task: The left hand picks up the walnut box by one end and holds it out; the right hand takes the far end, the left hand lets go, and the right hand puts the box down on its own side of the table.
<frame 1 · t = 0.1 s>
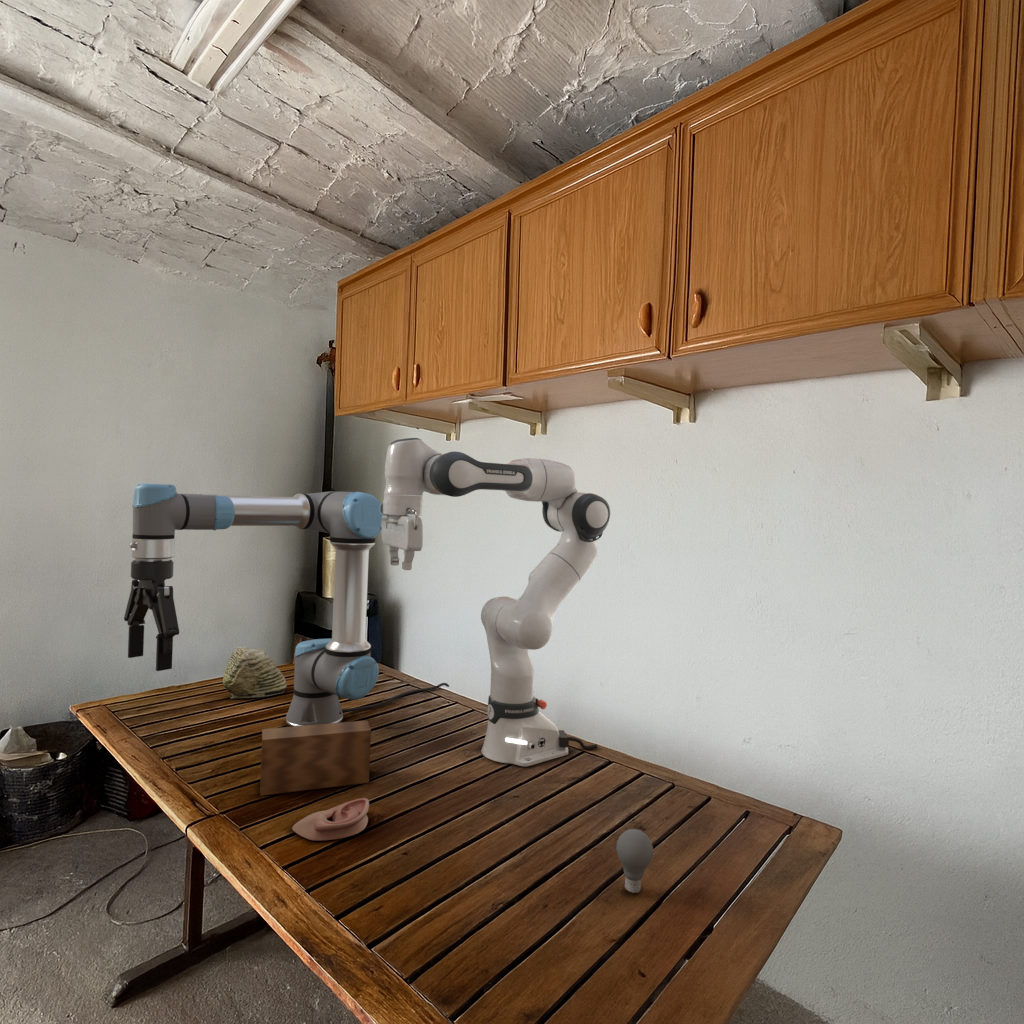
left hand: (149, 663, 129), 28 cm above the table, tool pointing down, fingers open, 13 cm apart
right hand: (400, 567, 147), 48 cm above the table, tool pointing down, fingers open, 8 cm apart
light bulb: (632, 891, 106), on the table
box: (315, 782, 140), on the table
fossil: (254, 694, 198), on the table
anatomical model: (331, 827, 122), on the table
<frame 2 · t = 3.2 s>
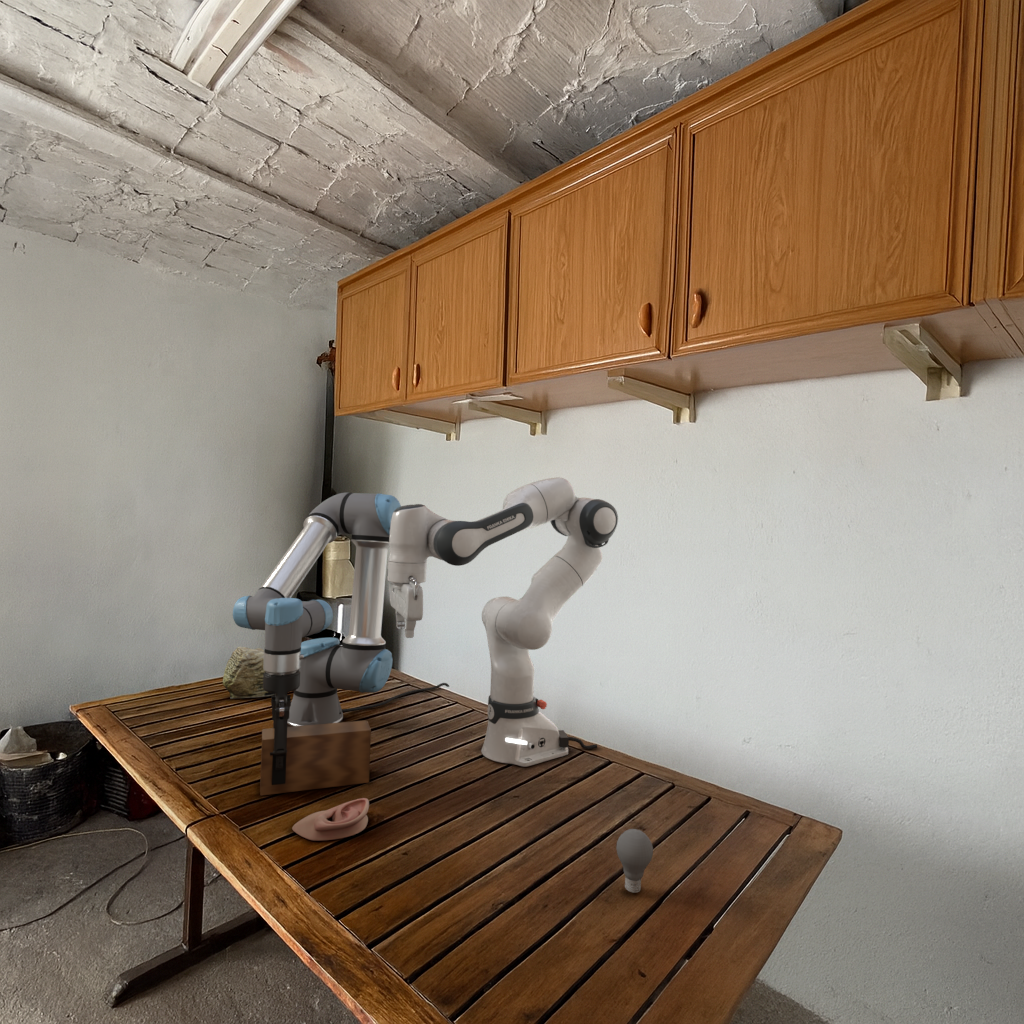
left hand: (278, 776, 137), 2 cm above the table, tool pointing down, fingers closed on box, 6 cm apart
right hand: (404, 632, 148), 32 cm above the table, tool pointing down, fingers open, 8 cm apart
box: (315, 782, 140), on the table, touching left hand
everything else where it was.
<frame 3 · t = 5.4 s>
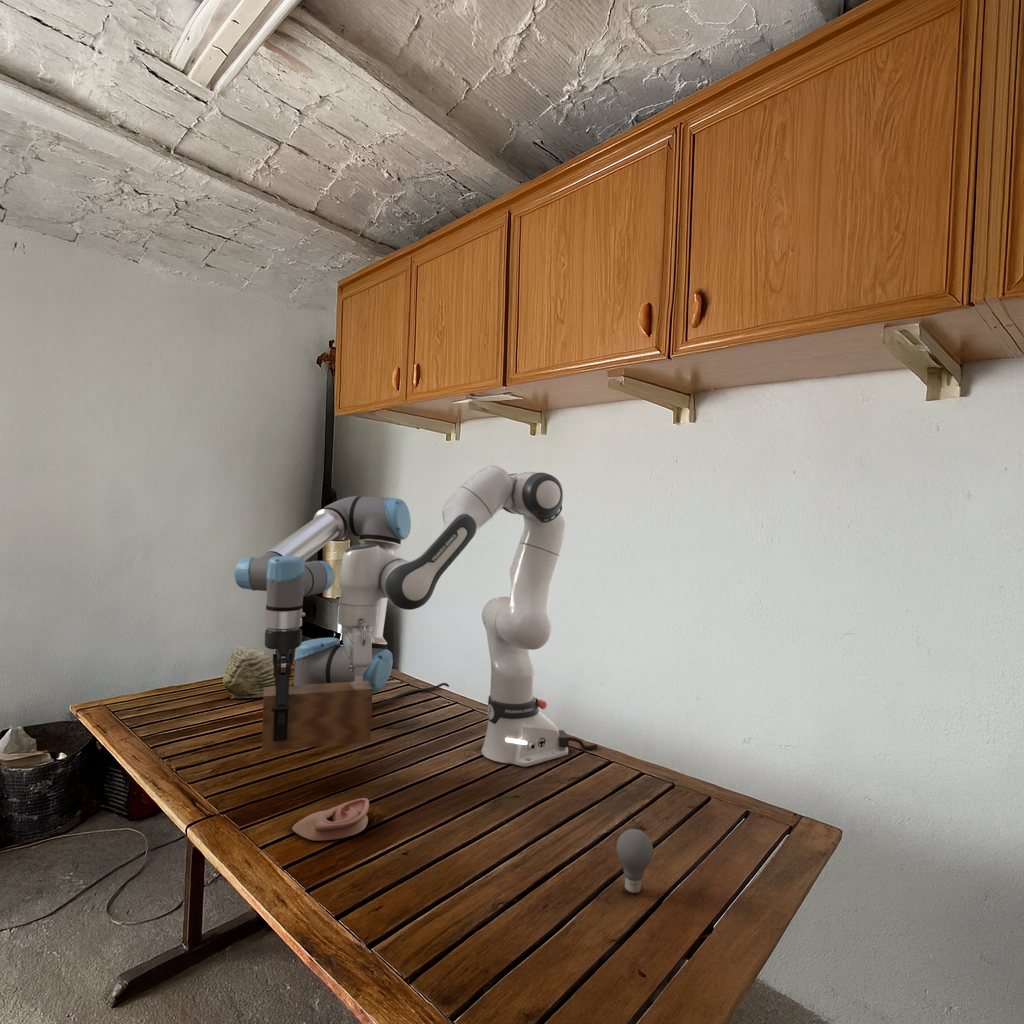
left hand: (279, 733, 137), 12 cm above the table, tool pointing down, fingers closed on box, 6 cm apart
right hand: (355, 676, 143), 23 cm above the table, tool pointing down, fingers open, 8 cm apart
box: (316, 741, 140), point 9 cm above the table, touching left hand
everything else where it was.
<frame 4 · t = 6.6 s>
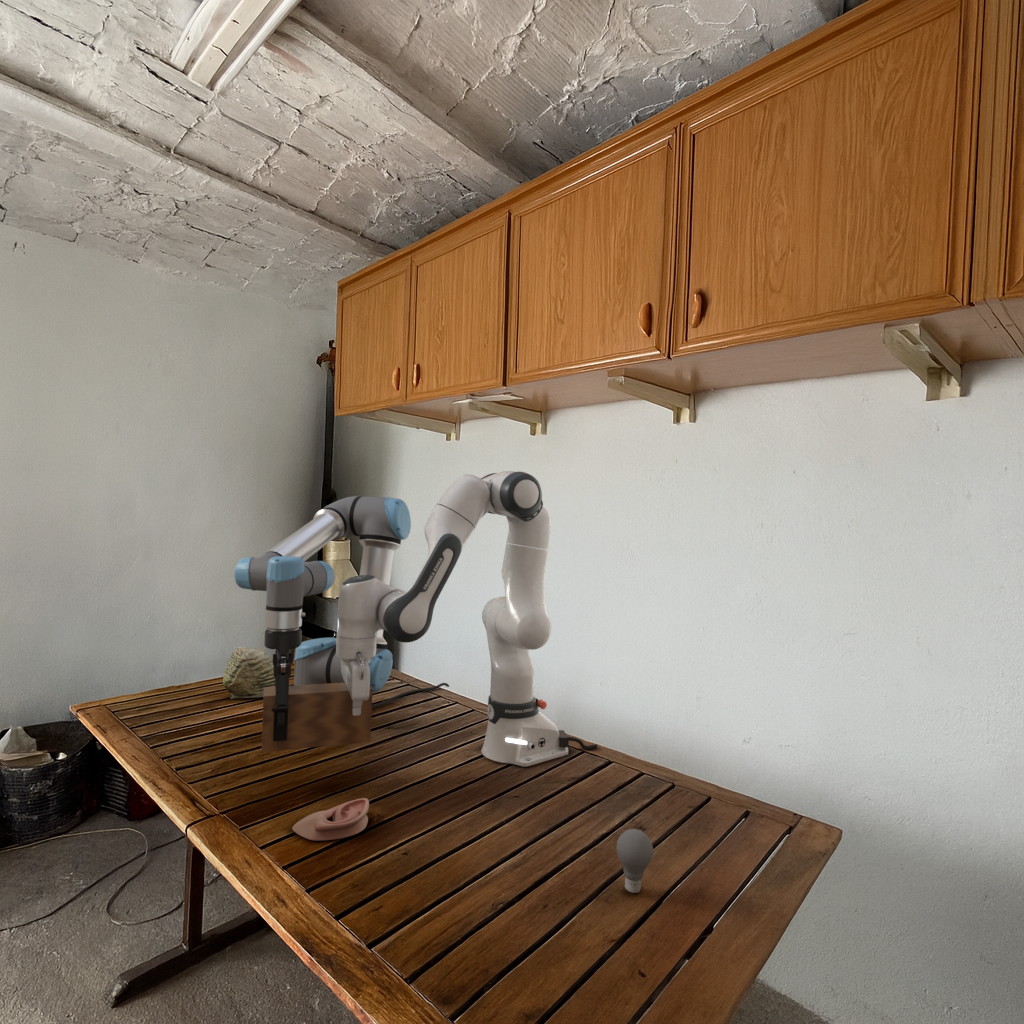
left hand: (279, 733, 137), 12 cm above the table, tool pointing down, fingers closed on box, 6 cm apart
right hand: (353, 708, 143), 16 cm above the table, tool pointing down, fingers closed on box, 6 cm apart
box: (316, 741, 140), point 9 cm above the table, touching left hand, right hand
everything else where it was.
when the left hand's fingers open (12 cm above the table, at t = 7.8 s): box stays where it is, held by the right hand.
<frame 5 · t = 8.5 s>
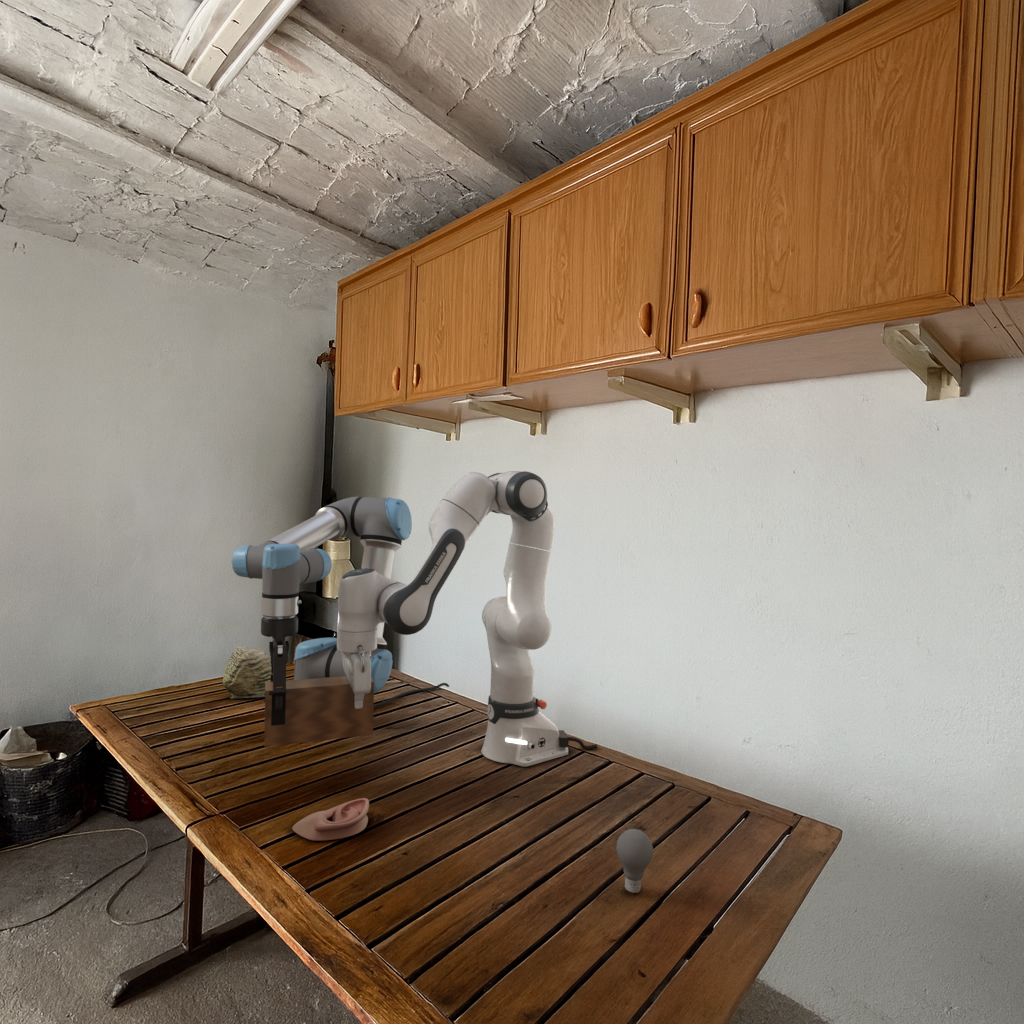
left hand: (277, 713, 137), 16 cm above the table, tool pointing down, fingers open, 13 cm apart
right hand: (355, 701, 143), 17 cm above the table, tool pointing down, fingers closed on box, 6 cm apart
box: (319, 735, 140), point 11 cm above the table, touching right hand
everything else where it was.
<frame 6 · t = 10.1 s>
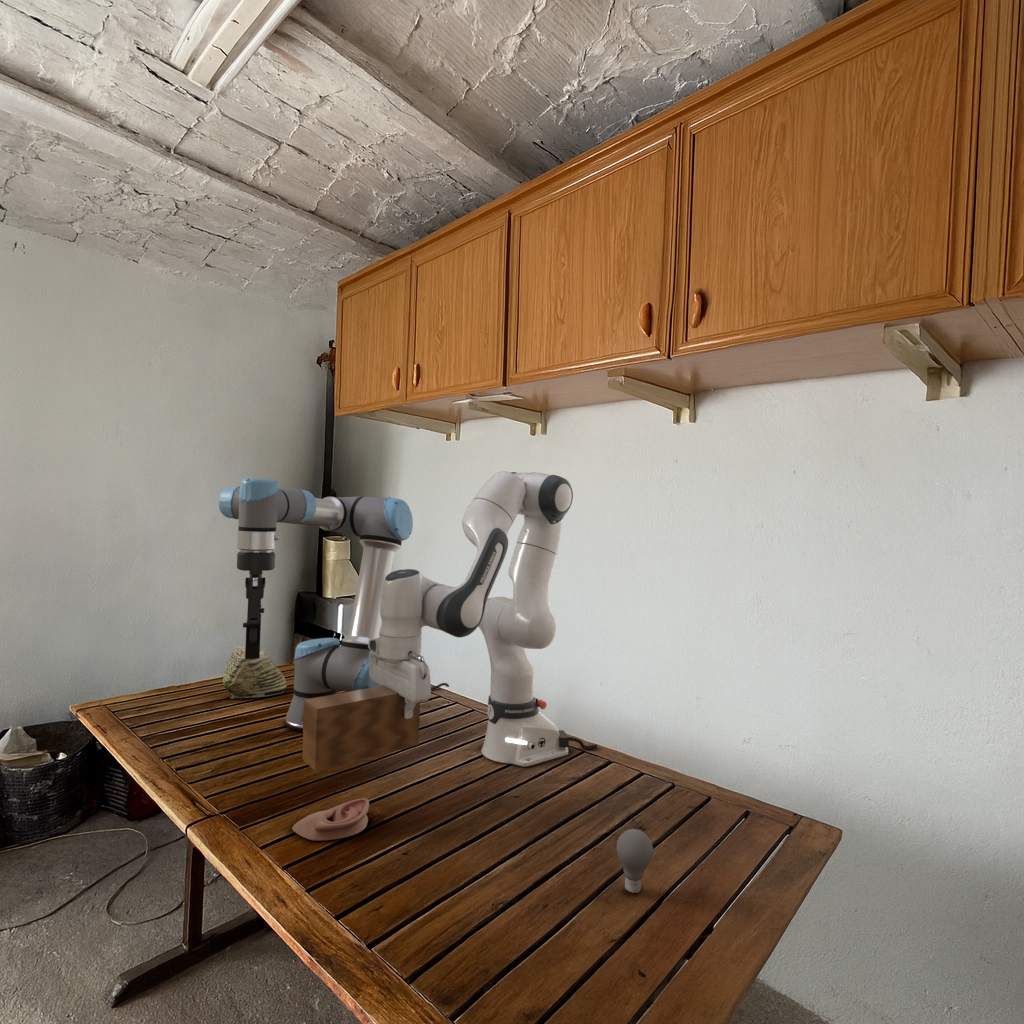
left hand: (252, 650, 135), 30 cm above the table, tool pointing down, fingers open, 13 cm apart
right hand: (397, 712, 134), 19 cm above the table, tool pointing down, fingers closed on box, 6 cm apart
box: (362, 751, 129), point 12 cm above the table, touching right hand
everything else where it was.
when the right hand's fingers open (8 cm above the table, at t = 13.7 s): box stays where it is, on the table.
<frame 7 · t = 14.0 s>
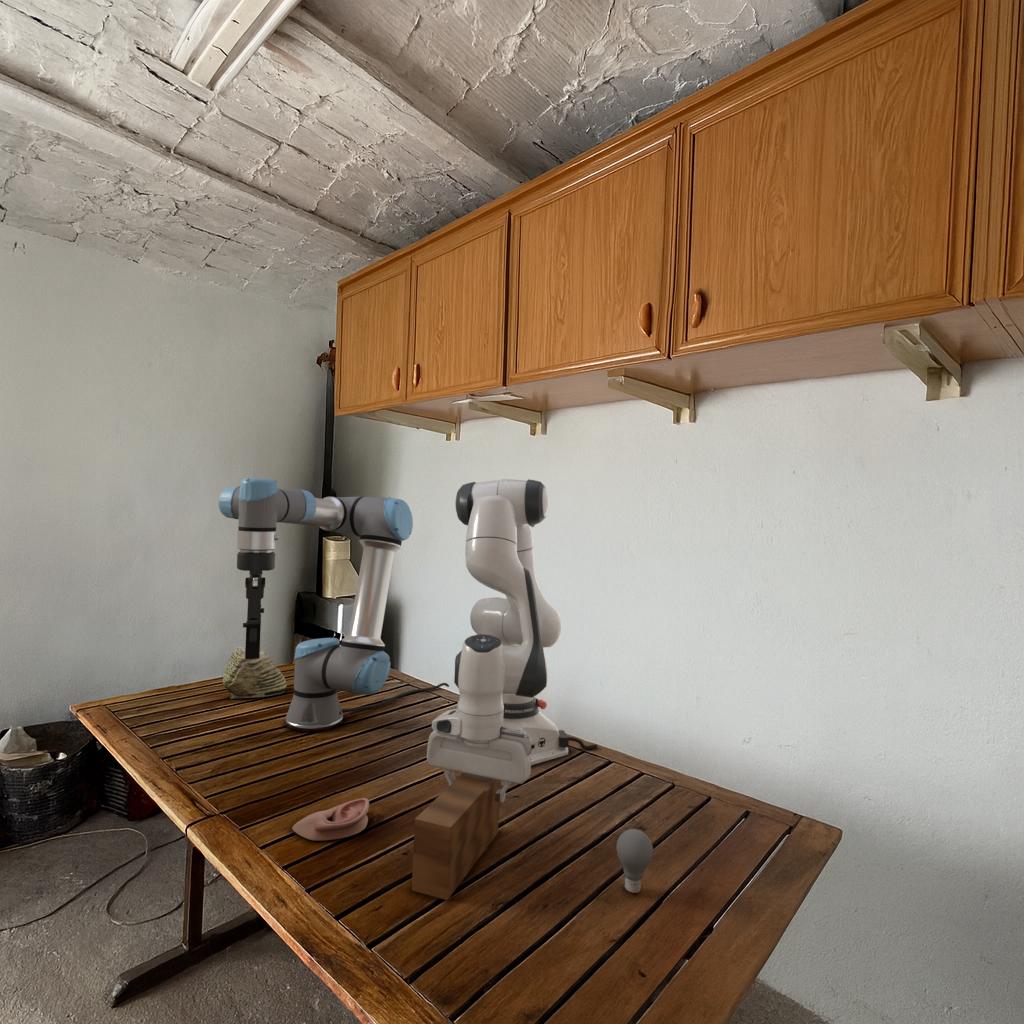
left hand: (252, 650, 135), 30 cm above the table, tool pointing down, fingers open, 13 cm apart
right hand: (476, 796, 120), 8 cm above the table, tool pointing down, fingers open, 8 cm apart
box: (458, 859, 113), on the table
everything else where it was.
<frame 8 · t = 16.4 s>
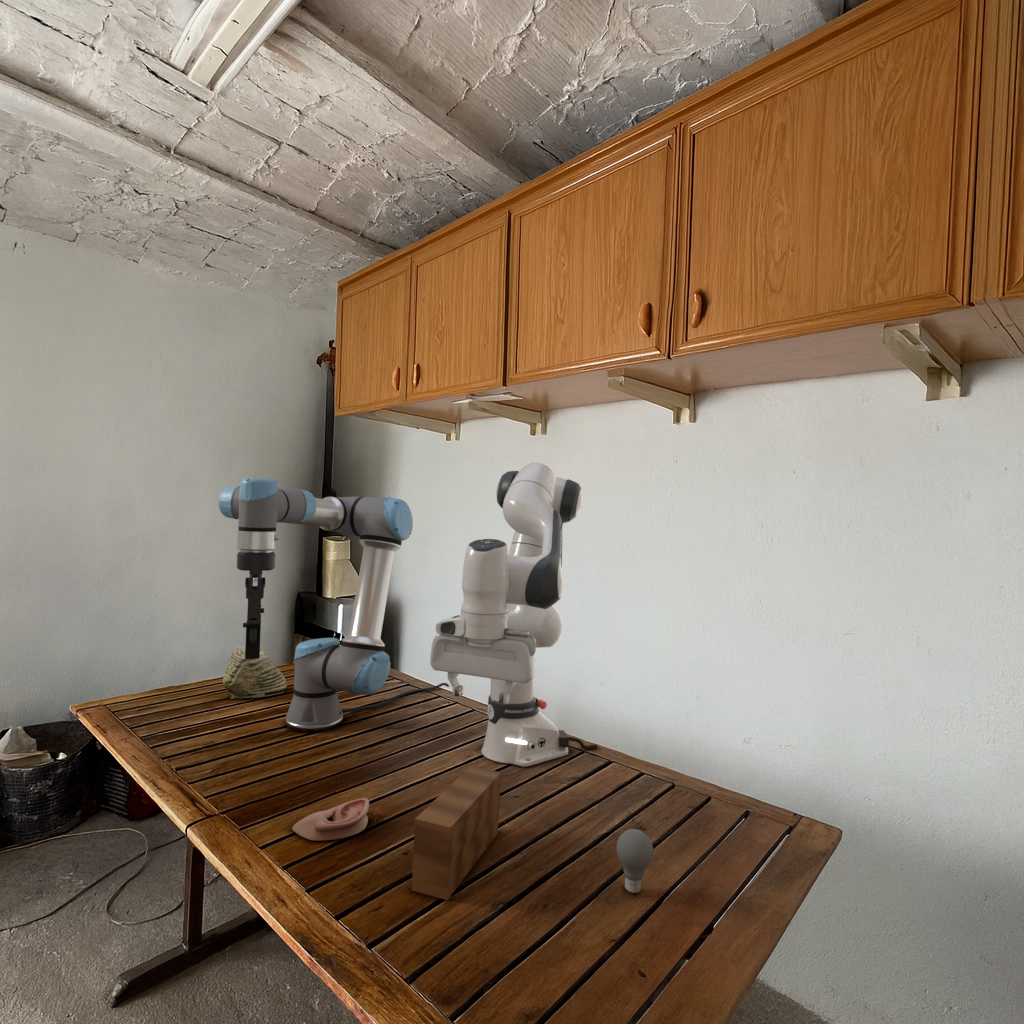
left hand: (252, 650, 135), 30 cm above the table, tool pointing down, fingers open, 13 cm apart
right hand: (480, 699, 119), 27 cm above the table, tool pointing down, fingers open, 8 cm apart
nothing on the table moved.
at the end: box inside the target area (7.2 cm from its centre), on the table; the left hand is holding nothing; the right hand is holding nothing; box at rest at the end (0.0 cm/s) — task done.
